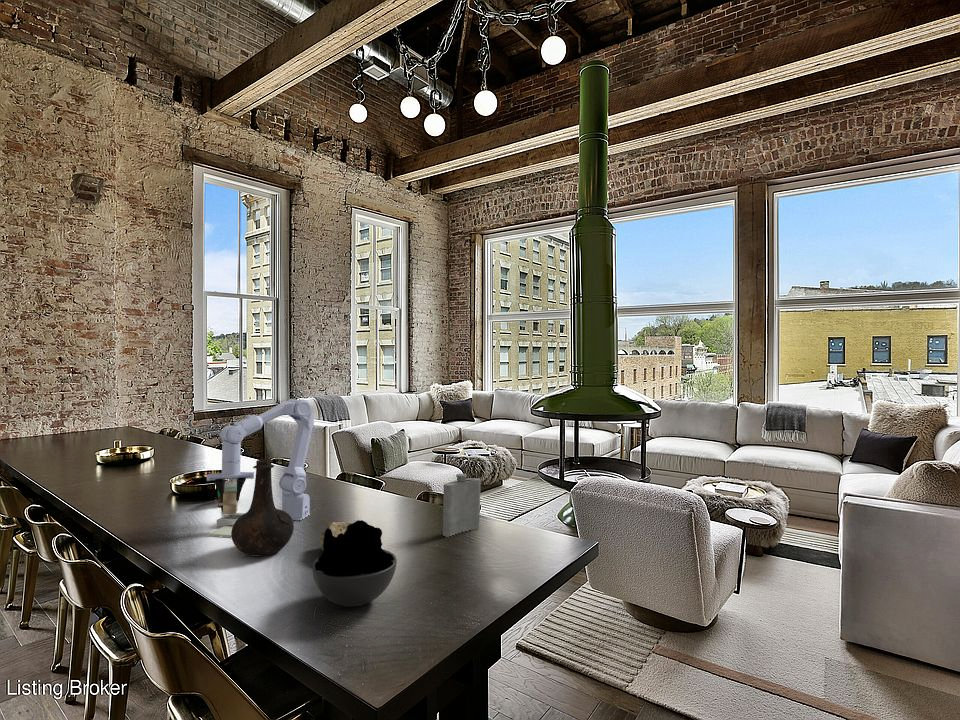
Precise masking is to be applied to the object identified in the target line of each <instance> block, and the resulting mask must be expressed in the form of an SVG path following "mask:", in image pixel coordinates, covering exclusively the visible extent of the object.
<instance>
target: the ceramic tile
mask: <svg viewBox="0 0 960 720" xmlns="http://www.w3.org/2000/svg"><path fill="white" fill-rule="evenodd" d="M232 528H233V527H229V526H223V527H218V528H217V529H216V530H213V531H212V532H209V533H208V537H215V536H222V537H221V538H231V532H232Z"/></svg>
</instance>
